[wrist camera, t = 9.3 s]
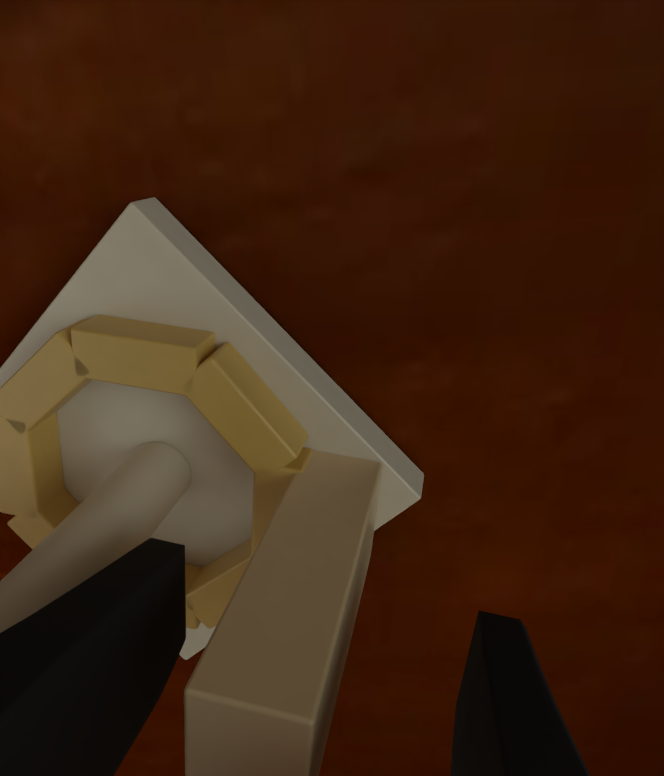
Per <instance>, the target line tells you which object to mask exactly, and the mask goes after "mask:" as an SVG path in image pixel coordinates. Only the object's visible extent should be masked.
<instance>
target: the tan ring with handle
mask: <svg viewBox="0 0 664 776" xmlns="http://www.w3.org/2000/svg"><path fill="white" fill-rule="evenodd" d="M91 380H98V381H104V382H109V383H115V384H121V385H127V386H133V387H138V388H144V389H150V390H156V391H162V392H167V393H173V394H179V395H185V396H186V397H187V398H188V399H189V401H190V402H191V403H192V404H193V405H194V406H195V407H196V408H197V410H198V411H199V412H200V413H201V414H202V415H203V416H204V417H205V418H206V420H207V421H208V422H209V423H210V424H211V425H212V426H213V427H214V429H215V430H216V431H217V432H218V433H219V434H220V435H221V436H222V438H223V439H224V440H225V441H226V442H227V443H228V444H229V445H230V447H231V448H232V449H233V450H234V451H235V452H236V453H237V454H238V455H239V457H240V458H241V459H242V460H243V461H244V462H245V463H246V464H247V466H248V467H249V468H250V469H251V470H252V471H253V472H254V486H253V512H252V537H251V538H249V539H248V540H246V541H245V542H243V543H241V544H240V545H238V546H237V547H235V548H233V549H232V550H230V551H229V552H227V553H225V554H224V555H222V556H220V557H219V558H217V559H216V560H214V561H212V562H211V563H209V564H208V565H206V566H204V567H200V566H195V565H191V564H186V563H185V591H186V628H190V629H197V628H198V626H199V625H200V623H201V622H202V623H203V624H204V625H205V626H206V627H207V628H209V629H210V628H212V627H214V626H216V625H217V626H216V628H215V630H214V632H213V634H212V636H211V638H210V640H209V642H208V644H207V645H206V647H205V649H204V651H203V653H202V655H201V657H200V659H199V661H198V663H197V665H196V667H195V669H194V671H193V673H192V675H191V677H190V679H189V681H188V683H187V685H186V687H185V689H184V734H185V776H319V771H320V767H321V763H322V759H323V755H324V750H325V746H326V742H327V738H328V734H329V729H330V725H331V721H332V717H333V712H334V708H335V704H336V700H337V696H338V691H339V687H340V683H341V679H342V674H343V670H344V666H345V662H346V658H347V653H348V649H349V645H350V641H351V637H352V632H353V628H354V624H355V620H356V615H357V611H358V607H359V603H360V599H361V594H362V590H363V586H364V582H365V578H366V573H367V569H368V565H369V561H370V556H371V549H372V541H373V534H374V527H375V520H376V512H377V505H378V498H379V491H380V483H381V476H382V469H383V466H382V463H380V462H374V461H369V460H363V459H358V458H352V457H347V456H341V455H336V454H330V453H324V452H319V451H313V449H311V448H306V447H303V446H304V444H305V442H306V440H307V438H308V433H307V432H306V431H305V429H304V428H303V427H302V426H301V425H300V424H299V422H298V421H297V420H296V419H295V418H294V417H293V415H292V414H291V413H290V412H289V411H288V410H287V408H286V407H285V406H284V405H283V404H282V403H281V401H280V400H279V399H278V398H277V397H276V396H275V394H274V393H273V392H272V391H271V390H270V389H269V387H268V386H267V385H266V384H265V383H264V382H263V380H262V379H261V378H260V377H259V376H258V375H257V373H256V372H255V371H254V370H253V369H252V368H251V366H250V365H249V364H248V363H247V362H246V361H245V359H244V358H243V357H242V356H241V355H240V354H239V352H238V351H237V350H236V349H235V348H234V347H233V345H232V344H231V343H229V342H227V343H224V344H223V345H222V346H220V347H219V348H218V349H217V350H216V351H215V333H214V332H210V331H203V330H197V329H190V328H184V327H177V326H171V325H164V324H158V323H151V322H145V321H138V320H132V319H125V318H119V317H112V316H106V315H96V316H94V317H92V318H91V319H89V320H87V319H86V318H85V319H82V320H80V321H78V322H76V323H74V324H72V325H70V326H68V327H66V328H64V329H62V330H60V331H58V332H56V333H55V334H54V335H53V336H52V337H51V338H50V339H49V340H48V341H47V342H46V343H45V344H44V345H43V346H42V347H41V348H40V349H39V350H38V351H37V352H36V353H35V354H34V355H33V356H32V357H31V358H30V359H29V360H28V361H27V362H26V363H25V364H24V365H23V366H22V367H21V368H20V369H19V370H18V371H17V372H16V373H15V374H14V375H13V376H12V377H11V378H10V379H9V380H8V381H7V382H6V383H5V384H4V385H2V386H1V387H0V512H2V513H6V514H11V515H15V516H14V517H13V518H12V519H11V520H9V521H8V523H7V524H8V526H9V527H10V528H11V529H12V530H13V531H14V532H15V533H16V534H17V535H18V536H19V537H20V538H21V539H22V540H23V541H24V542H25V543H27V544H28V545H29V546H30V547H31V548H32V549H34V548H35V547H36V546H37V545H38V544H39V543H40V542H41V541H42V540H43V539H44V538H45V537H46V536H48V535H49V534H50V533H51V532H52V531H53V530H54V529H55V528H56V527H57V526H58V525H59V524H60V523H61V522H62V521H63V520H64V519H65V518H66V517H67V516H68V515H69V514H70V513H71V512H72V511H73V510H74V509H75V508H76V507H77V506H78V505H79V503H78V502H77V500H76V499H75V498H74V497H73V496H72V495H71V494H70V493H69V492H68V491H67V490H66V489H65V486H64V477H63V467H62V458H61V449H60V440H59V430H58V421H57V411H58V410H59V409H60V408H61V407H62V406H63V405H65V404H66V403H67V402H68V401H69V400H70V399H71V398H72V397H74V396H75V395H76V394H77V393H78V392H79V391H80V390H81V389H82V388H84V387H85V386H86V385H87V384H88V383H89V382H90V381H91Z"/></svg>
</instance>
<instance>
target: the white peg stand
mask: <svg viewBox="0 0 664 776" xmlns="http://www.w3.org/2000/svg"><path fill="white" fill-rule="evenodd" d="M96 315H106V316H112V317H119V318H125V319H132V320H138V321H145V322H151V323H158V324H164V325H171V326H177V327H184V328H190V329H197V330H203V331H210V332H214V333H215V351H216V350H217V349H218V348H219V347H220V346H222V345H223V344H224V343H227V342H229V343H231V344H232V345H233V347H234V348H235V349H236V350H237V351H238V352H239V354H240V355H241V356H242V357H243V358H244V359H245V361H246V362H247V363H248V364H249V365H250V366H251V368H252V369H253V370H254V371H255V372H256V373H257V375H258V376H259V377H260V378H261V379H262V380H263V382H264V383H265V384H266V385H267V386H268V387H269V389H270V390H271V391H272V392H273V393H274V394H275V396H276V397H277V398H278V399H279V400H280V401H281V403H282V404H283V405H284V406H285V407H286V408H287V410H288V411H289V412H290V413H291V414H292V415H293V417H294V418H295V419H296V420H297V421H298V422H299V424H300V425H301V426H302V427H303V428H304V429H305V431H306V432H307V433H308V438H307V440H306V442H305V444H304V446H303V447H306V448H311V449H313V451H319V452H324V453H330V454H336V455H341V456H347V457H352V458H358V459H363V460H369V461H374V462H380V463H382V466H383V469H382V476H381V483H380V491H379V498H378V505H377V512H376V520H375V527H374V531H375V530H376V529H377V528H379V527H380V526H382V525H383V524H385V523H386V522H388V521H389V520H391V519H392V518H393V517H395V516H396V515H398V514H399V513H401V512H402V511H404V510H405V509H407V508H408V507H409V506H411V505H412V504H414V503H415V502H417V501H418V500H420V498H421V494H422V487H423V480H424V474H423V472H422V471H421V470H420V469H419V468H418V467H417V466H416V465H415V464H414V463H413V462H412V461H411V460H410V459H409V458H408V457H407V456H406V455H405V454H404V453H403V452H402V451H401V450H400V449H399V448H398V447H397V446H396V445H395V444H394V443H393V442H392V441H391V440H390V438H389V437H388V436H387V435H386V434H385V433H384V432H383V431H382V430H381V429H380V428H379V427H378V426H377V425H376V424H375V423H374V422H373V421H372V420H371V419H370V418H369V417H368V416H367V415H366V414H365V413H364V412H363V411H362V410H361V409H360V408H359V407H358V406H357V405H356V403H355V402H354V401H353V400H352V399H351V398H350V397H349V396H348V395H347V394H346V393H345V392H344V391H343V390H342V389H341V388H340V387H339V386H338V385H337V384H336V383H335V382H334V381H333V380H332V379H331V378H330V377H329V376H328V375H327V374H326V373H325V372H324V371H323V370H322V368H321V367H320V366H319V365H318V364H317V363H316V362H315V361H314V360H313V359H312V358H311V357H310V356H309V355H308V354H307V353H306V352H305V351H304V350H303V349H302V348H301V347H300V346H299V345H298V344H297V343H296V342H295V341H294V340H293V339H292V338H291V337H290V336H289V335H288V333H287V332H286V331H285V330H284V329H283V328H282V327H281V326H280V325H279V324H278V323H277V322H276V321H275V320H274V319H273V318H272V317H271V316H270V315H269V314H268V313H267V312H266V311H265V310H264V309H263V308H262V307H261V306H260V305H259V304H258V303H257V302H256V301H255V300H254V299H253V297H252V296H251V295H250V294H249V293H248V292H247V291H246V290H245V289H244V288H243V287H242V286H241V285H240V284H239V283H238V282H237V281H236V280H235V279H234V278H233V277H232V276H231V275H230V274H229V273H228V272H227V271H226V270H225V269H224V268H223V267H222V266H221V265H220V264H219V262H218V261H217V260H216V259H215V258H214V257H213V256H212V255H211V254H210V253H209V252H208V251H207V250H206V249H205V248H204V247H203V246H202V245H201V244H200V243H199V242H198V241H197V240H196V239H195V238H194V237H193V236H192V235H191V234H190V233H189V232H188V231H187V230H186V229H185V227H184V226H183V225H182V224H181V223H180V222H179V221H178V220H177V219H176V218H175V217H174V216H173V215H172V214H171V213H170V212H169V211H168V210H167V209H166V208H165V207H164V206H163V205H162V204H161V203H160V202H159V201H158V200H157V199H156V198H155V197H152V198H148V199H143V200H139V201H135V202H131V203H129V205H128V206H127V207H126V208H125V210H124V211H123V212H122V214H121V215H120V216H119V217H118V219H117V220H116V221H115V222H114V224H113V225H112V226H111V228H110V229H109V230H108V231H107V233H106V234H105V235H104V236H103V238H102V239H101V240H100V242H99V243H98V244H97V245H96V247H95V248H94V249H93V251H92V252H91V253H90V254H89V256H88V257H87V258H86V259H85V261H84V262H83V263H82V265H81V266H80V267H79V268H78V270H77V271H76V272H75V273H74V275H73V276H72V277H71V279H70V280H69V281H68V282H67V284H66V285H65V286H64V288H63V289H62V290H61V291H60V293H59V294H58V295H57V296H56V298H55V299H54V300H53V302H52V303H51V304H50V305H49V307H48V308H47V309H46V310H45V312H44V313H43V314H42V316H41V317H40V318H39V319H38V321H37V322H36V323H35V324H34V326H33V327H32V328H31V330H30V331H29V332H28V333H27V335H26V336H25V337H24V339H23V340H22V341H21V342H20V344H19V345H18V346H17V347H16V349H15V350H14V351H13V353H12V354H11V355H10V356H9V358H8V359H7V360H6V361H5V363H4V364H3V365H2V367H1V368H0V387H1V386H2V385H4V384H5V383H6V382H7V381H8V380H9V379H10V378H11V377H12V376H13V375H14V374H15V373H16V372H17V371H18V370H19V369H20V368H21V367H22V366H23V365H24V364H25V363H26V362H27V361H28V360H29V359H30V358H31V357H32V356H33V355H34V354H35V353H36V352H37V351H38V350H39V349H40V348H41V347H42V346H43V345H44V344H45V343H46V342H47V341H48V340H49V339H50V338H51V337H52V336H53V335H54V334H55V333H56V332H58V331H60V330H62V329H64V328H66V327H68V326H70V325H72V324H74V323H76V322H78V321H80V320H82V319H85V318H86V319H87V320H89V319H91V318H92V317H94V316H96ZM57 421H58V430H59V440H60V449H61V458H62V467H63V477H64V486H65V489H66V490H67V491H68V492H69V493H70V494H71V495H72V496H73V497H74V498H75V499H76V500H77V502H78V503H79V505H78V506H77V507H76V508H75V509H74V510H73V511H72V512H71V513H70V514H69V515H68V516H67V517H66V518H65V519H64V520H63V521H62V522H61V523H60V524H59V525H58V526H57V527H56V528H55V529H54V530H53V531H52V532H51V533H50V534H49V535H48V536H46V537H45V538H44V539H43V540H42V541H41V542H40V543H39V544H38V545H37V546H36V547H35V548H34V549H33V550H32V551H31V552H30V553H29V554H28V555H27V556H26V557H25V558H24V559H23V560H22V561H21V562H20V563H19V564H18V565H17V566H16V567H15V568H13V569H12V570H11V571H10V572H9V573H8V574H7V575H6V576H5V577H4V578H3V579H2V580H1V581H0V633H1V632H3V631H4V630H6V629H8V628H10V627H11V626H13V625H15V624H16V623H18V622H20V621H22V620H23V619H25V618H27V617H28V616H30V615H32V614H33V613H35V612H37V611H38V610H40V609H41V608H43V607H44V606H46V605H48V604H49V603H51V602H52V601H54V600H55V599H57V598H59V597H60V596H62V595H63V594H65V593H66V592H68V591H70V590H71V589H73V588H74V587H76V586H77V585H79V584H80V583H82V582H84V581H85V580H87V579H88V578H90V577H91V576H93V575H94V574H96V573H97V572H99V571H100V570H102V569H103V568H105V567H106V566H108V565H109V564H111V563H112V562H114V561H115V560H117V559H118V558H120V557H122V556H123V555H125V554H126V553H128V552H129V551H131V550H132V549H134V548H135V547H137V546H138V545H140V544H142V543H143V542H145V541H146V540H148V539H149V538H155V539H159V540H164V541H168V542H173V543H177V544H182V545H185V563H186V564H191V565H195V566H200V567H204V566H206V565H208V564H209V563H211V562H212V561H214V560H216V559H217V558H219V557H220V556H222V555H224V554H225V553H227V552H229V551H230V550H232V549H233V548H235V547H237V546H238V545H240V544H241V543H243V542H245V541H246V540H248V539H249V538H251V537H252V512H253V486H254V472H253V471H252V470H251V469H250V468H249V467H248V466H247V464H246V463H245V462H244V461H243V460H242V459H241V458H240V457H239V455H238V454H237V453H236V452H235V451H234V450H233V449H232V448H231V447H230V445H229V444H228V443H227V442H226V441H225V440H224V439H223V438H222V436H221V435H220V434H219V433H218V432H217V431H216V430H215V429H214V427H213V426H212V425H211V424H210V423H209V422H208V421H207V420H206V418H205V417H204V416H203V415H202V414H201V413H200V412H199V411H198V410H197V408H196V407H195V406H194V405H193V404H192V403H191V402H190V401H189V399H188V398H187V397H186V396H185V395H179V394H173V393H167V392H162V391H156V390H150V389H144V388H138V387H133V386H127V385H121V384H115V383H109V382H104V381H98V380H91V381H90V382H89V383H88V384H87V385H86V386H85V387H84V388H82V389H81V390H80V391H79V392H78V393H77V394H76V395H75V396H74V397H72V398H71V399H70V400H69V401H68V402H67V403H66V404H65V405H63V406H62V407H61V408H60V409H59V410H58V411H57ZM216 626H217V625H216ZM216 626H214V627H212V628H210V629H209V628H207V627H206V626H205V625H204V624H203V623H202V622H201V623H200V625H199V626H198V628H197V629H190V628H186V640H185V642H184V644H183V647H182V649H181V651H180V654H179V655H180V656H181V657H183V658H184V659H185V660H187V659H189V658H190V657H192V656H193V655H194V654H196V653H197V652H199V651H200V650H202V649H203V648H205V647H206V645H207V644H208V642H209V640H210V638H211V636H212V634H213V632H214V630H215V628H216Z"/></svg>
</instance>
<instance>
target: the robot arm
mask: <svg viewBox="0 0 664 776" xmlns="http://www.w3.org/2000/svg"><path fill="white" fill-rule="evenodd" d="M185 640H186V591H185V545H182V544H177V543H173V542H168V541H164V540H159V539H155V538H149V539H148V540H146V541H145V542H143V543H142V544H140V545H138V546H137V547H135V548H134V549H132V550H131V551H129V552H128V553H126V554H125V555H123V556H122V557H120V558H118V559H117V560H115V561H114V562H112V563H111V564H109V565H108V566H106V567H105V568H103V569H102V570H100V571H99V572H97V573H96V574H94V575H93V576H91V577H90V578H88V579H87V580H85V581H84V582H82V583H80V584H79V585H77V586H76V587H74V588H73V589H71V590H70V591H68V592H66V593H65V594H63V595H62V596H60V597H59V598H57V599H55V600H54V601H52V602H51V603H49V604H48V605H46V606H44V607H43V608H41V609H40V610H38V611H37V612H35V613H33V614H32V615H30V616H28V617H27V618H25V619H23V620H22V621H20V622H18V623H16V624H15V625H13V626H11V627H10V628H8V629H6V630H4V631H3V632H1V633H0V776H113V775H114V774H115V772H116V770H117V769H118V767H119V765H120V764H121V762H122V760H123V759H124V757H125V755H126V754H127V752H128V750H129V749H130V747H131V745H132V744H133V742H134V740H135V739H136V737H137V735H138V734H139V732H140V730H141V728H142V727H143V725H144V723H145V722H146V720H147V718H148V717H149V715H150V713H151V711H152V710H153V708H154V706H155V705H156V703H157V701H158V699H159V698H160V695H161V693H162V691H163V689H164V687H165V685H166V683H167V680H168V678H169V676H170V674H171V672H172V670H173V667H174V665H175V663H176V660H177V658H178V656H179V654H180V651H181V649H182V647H183V644H184V642H185ZM450 776H590V774H589V772H588V770H587V768H586V766H585V764H584V762H583V760H582V758H581V756H580V754H579V752H578V750H577V748H576V745H575V743H574V741H573V739H572V737H571V735H570V733H569V731H568V729H567V727H566V725H565V723H564V720H563V718H562V716H561V714H560V712H559V709H558V707H557V705H556V703H555V700H554V698H553V696H552V693H551V691H550V689H549V686H548V684H547V682H546V679H545V677H544V675H543V672H542V670H541V667H540V665H539V662H538V660H537V657H536V655H535V652H534V649H533V647H532V644H531V641H530V638H529V636H528V633H527V630H526V627H525V626H524V624H523V623H522V622H521V620H519V619H514V618H510V617H505V616H501V615H496V614H492V613H487V612H483V611H479V612H478V616H477V621H476V625H475V629H474V633H473V637H472V641H471V646H470V650H469V654H468V658H467V662H466V666H465V671H464V675H463V679H462V683H461V687H460V691H459V696H458V700H457V704H456V712H455V724H454V736H453V749H452V762H451V775H450Z"/></svg>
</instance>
